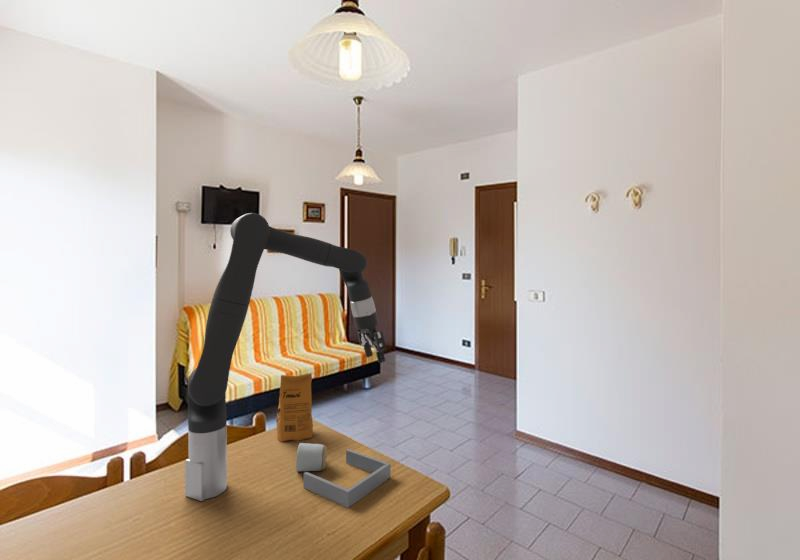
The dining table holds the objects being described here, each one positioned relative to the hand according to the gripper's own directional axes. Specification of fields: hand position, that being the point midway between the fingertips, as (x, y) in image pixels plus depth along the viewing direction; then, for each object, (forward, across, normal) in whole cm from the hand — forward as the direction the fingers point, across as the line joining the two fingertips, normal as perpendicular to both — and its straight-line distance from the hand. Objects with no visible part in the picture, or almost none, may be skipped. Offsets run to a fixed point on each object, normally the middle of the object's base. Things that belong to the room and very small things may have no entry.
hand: (375, 359), depth 134 cm
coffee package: (+24, -23, -27) cm, 43 cm away
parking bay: (+24, +14, -24) cm, 37 cm away
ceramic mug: (+23, +1, -29) cm, 37 cm away
